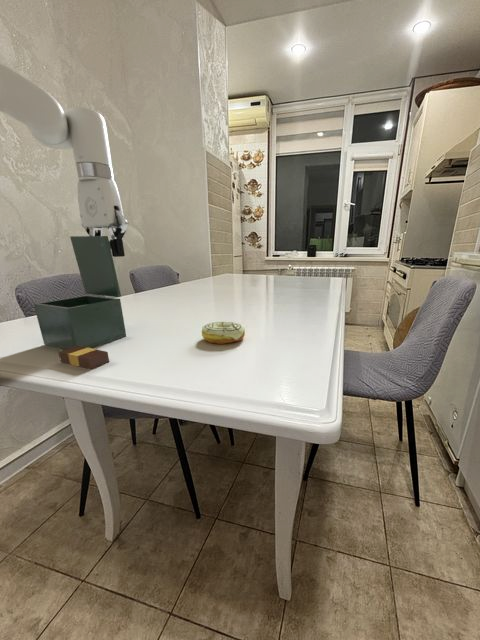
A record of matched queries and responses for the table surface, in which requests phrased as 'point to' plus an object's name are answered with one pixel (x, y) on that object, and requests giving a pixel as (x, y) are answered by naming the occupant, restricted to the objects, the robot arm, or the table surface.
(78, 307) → the bin
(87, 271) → the bin lid
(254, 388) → the table surface
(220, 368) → the table surface
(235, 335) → the decorated donut
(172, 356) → the table surface
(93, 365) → the chocolate
